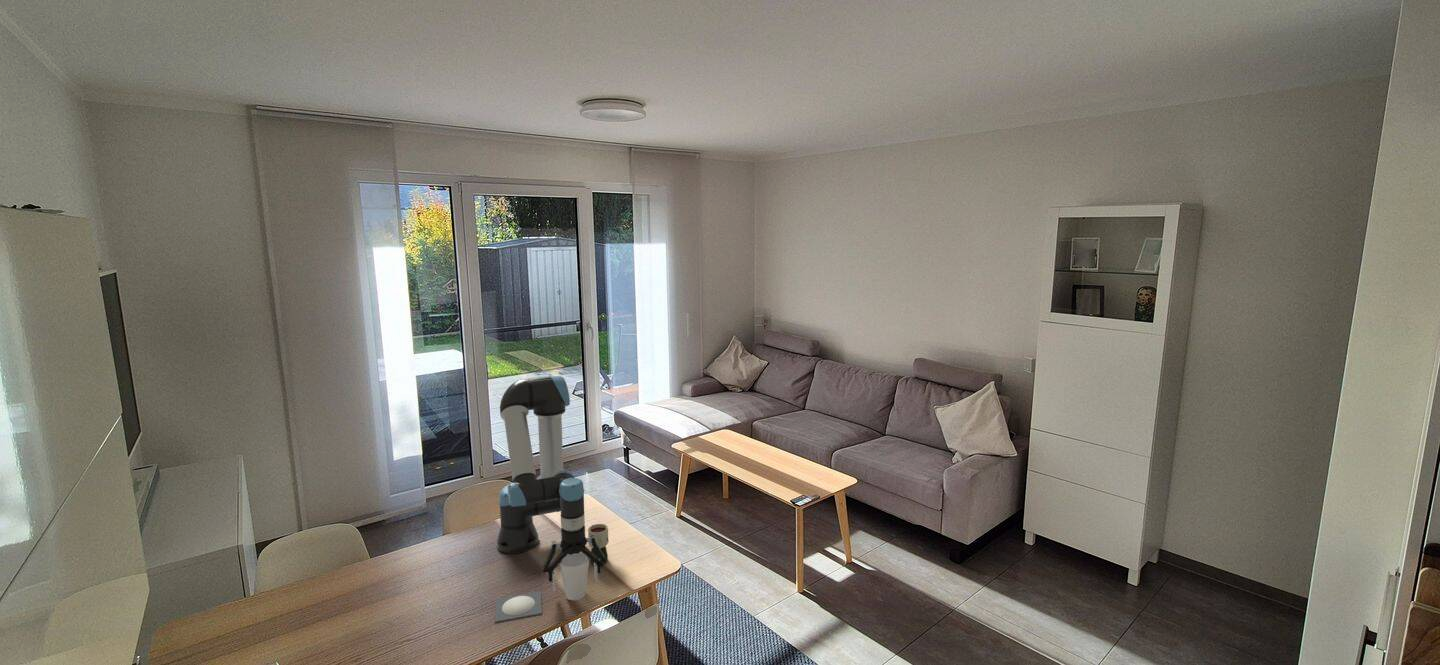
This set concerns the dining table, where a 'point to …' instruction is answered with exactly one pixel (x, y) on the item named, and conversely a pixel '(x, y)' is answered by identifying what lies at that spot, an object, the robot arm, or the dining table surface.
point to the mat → (518, 606)
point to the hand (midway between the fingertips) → (575, 585)
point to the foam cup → (575, 575)
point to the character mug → (599, 538)
